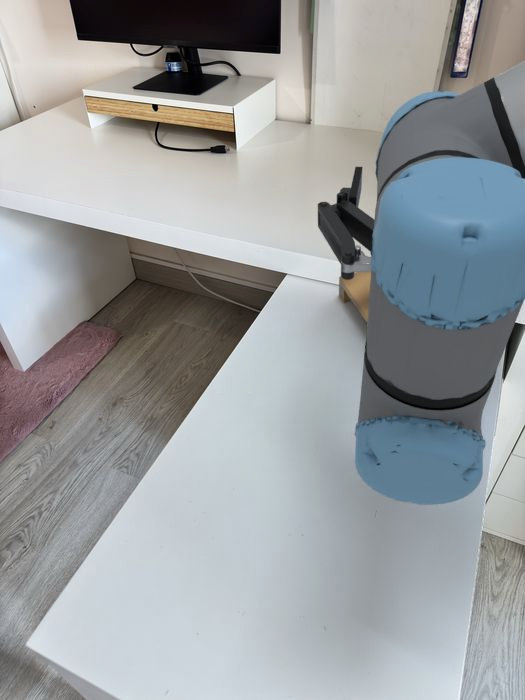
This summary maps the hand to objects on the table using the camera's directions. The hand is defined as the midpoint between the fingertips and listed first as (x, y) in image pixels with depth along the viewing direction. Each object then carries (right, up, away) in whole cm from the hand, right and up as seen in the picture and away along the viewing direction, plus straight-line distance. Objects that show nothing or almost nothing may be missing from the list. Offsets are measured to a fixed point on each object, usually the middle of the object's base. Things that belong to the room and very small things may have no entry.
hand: (422, 179), depth 54 cm
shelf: (+5, -13, +26) cm, 30 cm away
